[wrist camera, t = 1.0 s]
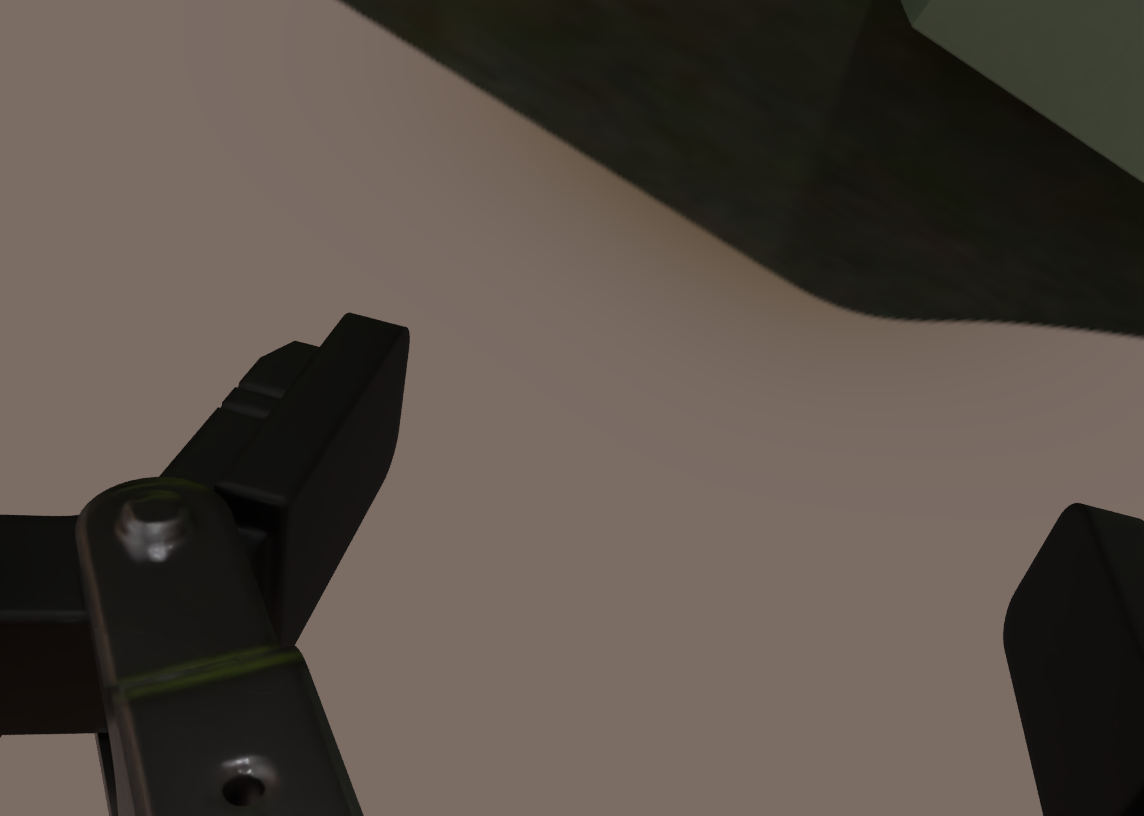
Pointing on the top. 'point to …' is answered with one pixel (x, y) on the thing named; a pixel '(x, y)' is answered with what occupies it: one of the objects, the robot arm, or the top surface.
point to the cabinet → (1055, 62)
